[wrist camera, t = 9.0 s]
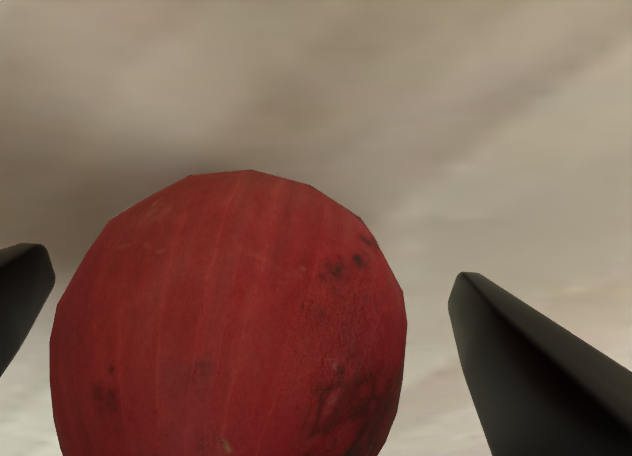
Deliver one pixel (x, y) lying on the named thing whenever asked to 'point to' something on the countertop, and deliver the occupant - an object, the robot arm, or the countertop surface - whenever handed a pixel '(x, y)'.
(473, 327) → the robot arm
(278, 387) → the onion
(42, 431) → the countertop surface
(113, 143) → the countertop surface
